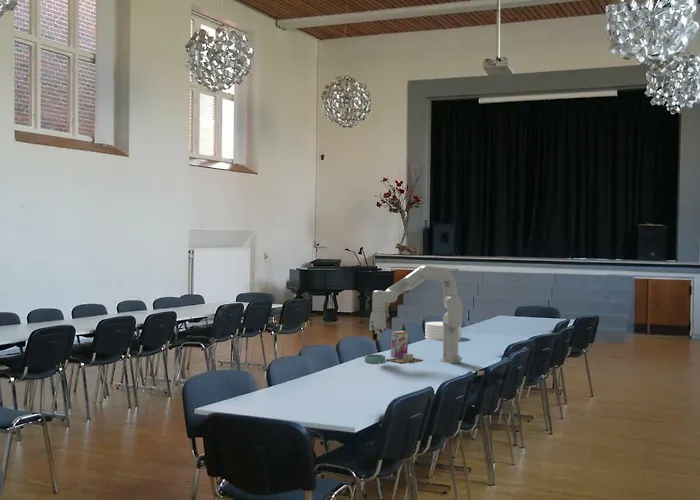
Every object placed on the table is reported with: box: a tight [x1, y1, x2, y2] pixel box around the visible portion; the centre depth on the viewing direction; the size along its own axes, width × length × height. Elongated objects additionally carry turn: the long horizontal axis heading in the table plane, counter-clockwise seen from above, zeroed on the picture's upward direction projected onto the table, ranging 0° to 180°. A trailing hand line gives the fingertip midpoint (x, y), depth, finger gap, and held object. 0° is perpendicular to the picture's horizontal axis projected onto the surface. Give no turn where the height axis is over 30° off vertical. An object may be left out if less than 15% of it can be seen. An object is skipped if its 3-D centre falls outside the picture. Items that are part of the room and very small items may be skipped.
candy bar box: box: [390, 330, 409, 358], centre depth 492 cm, size 11×5×16 cm, turn 130°
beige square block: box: [402, 352, 414, 362], centre depth 470 cm, size 4×4×5 cm
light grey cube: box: [376, 331, 384, 341], centre depth 468 cm, size 4×4×5 cm
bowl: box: [364, 354, 386, 364], centre depth 470 cm, size 12×12×4 cm
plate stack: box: [424, 321, 462, 341], centre depth 587 cm, size 28×28×12 cm
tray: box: [385, 356, 423, 364], centre depth 473 cm, size 14×18×1 cm
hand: (377, 339), depth 468 cm, fingers closed on light grey cube, 4 cm apart
